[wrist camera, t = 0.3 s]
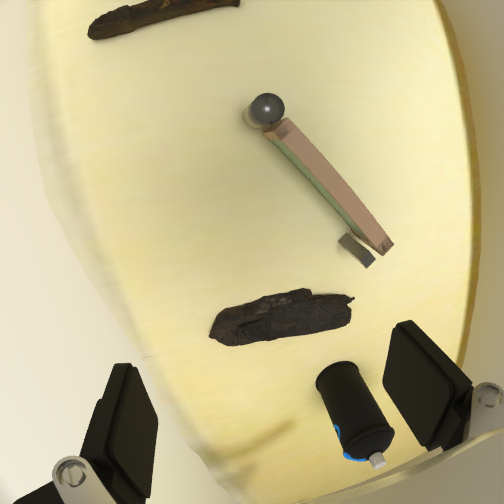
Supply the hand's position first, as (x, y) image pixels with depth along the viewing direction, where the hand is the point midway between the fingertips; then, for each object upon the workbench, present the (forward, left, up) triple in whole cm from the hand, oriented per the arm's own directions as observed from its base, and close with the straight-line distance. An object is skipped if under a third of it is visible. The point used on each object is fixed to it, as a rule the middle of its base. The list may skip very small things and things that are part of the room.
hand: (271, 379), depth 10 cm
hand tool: (-12, -23, -30) cm, 40 cm away
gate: (-10, +6, -29) cm, 31 cm away
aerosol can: (+9, +35, -30) cm, 47 cm away
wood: (+6, +17, -30) cm, 35 cm away
